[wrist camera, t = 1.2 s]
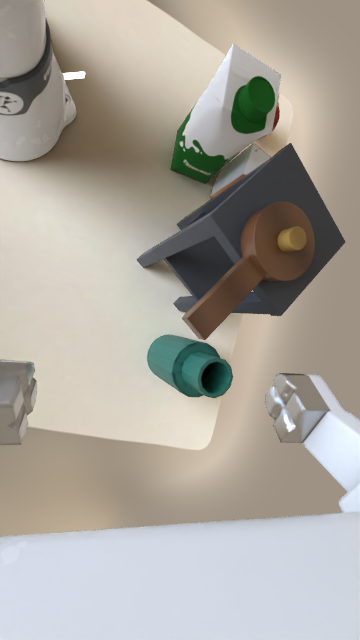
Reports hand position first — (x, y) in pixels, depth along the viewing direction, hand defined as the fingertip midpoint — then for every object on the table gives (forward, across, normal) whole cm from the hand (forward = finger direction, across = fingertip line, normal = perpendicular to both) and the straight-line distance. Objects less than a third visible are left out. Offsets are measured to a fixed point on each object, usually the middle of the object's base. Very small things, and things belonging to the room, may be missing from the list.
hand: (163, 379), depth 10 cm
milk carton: (+52, -9, -1) cm, 53 cm away
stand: (+41, -9, +15) cm, 44 cm away
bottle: (+31, -8, +28) cm, 42 cm away
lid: (+16, -9, +3) cm, 19 cm away
